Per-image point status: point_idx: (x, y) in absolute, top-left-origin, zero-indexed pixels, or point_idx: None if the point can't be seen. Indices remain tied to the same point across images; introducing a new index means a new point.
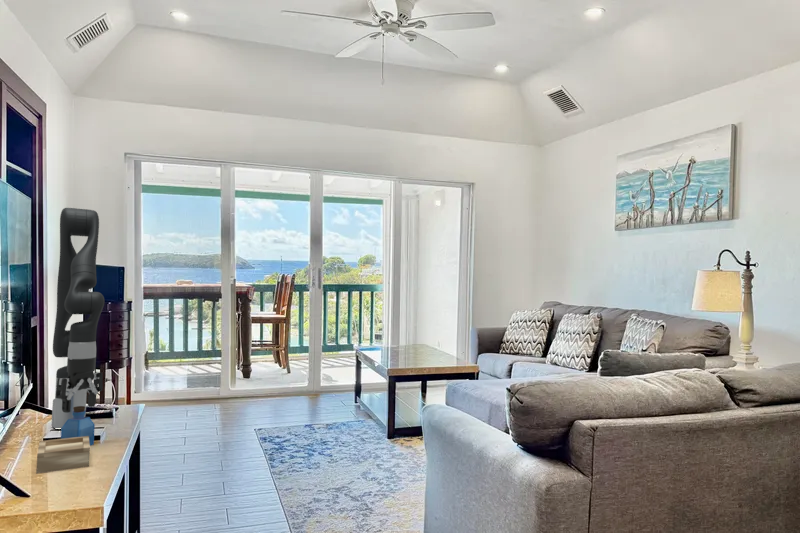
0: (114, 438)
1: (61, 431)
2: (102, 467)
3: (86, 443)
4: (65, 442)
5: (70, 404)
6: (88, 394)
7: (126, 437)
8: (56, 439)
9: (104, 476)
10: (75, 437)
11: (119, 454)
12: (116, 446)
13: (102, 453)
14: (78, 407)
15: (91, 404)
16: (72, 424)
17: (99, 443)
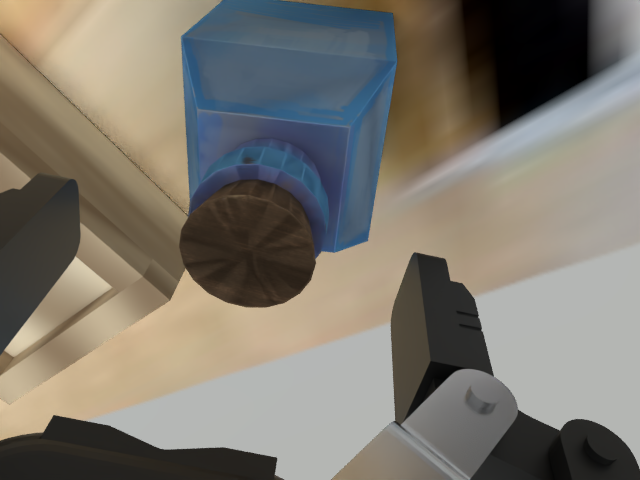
0: (524, 209)
1: (191, 31)
2: (78, 378)
3: (47, 362)
4: None
5: (27, 313)
6: (430, 364)
7: (550, 264)
8: (2, 159)
9: (13, 421)
10: (102, 249)
11: (245, 363)
12: (360, 297)
13: None
14: (236, 251)
15: (398, 313)
16: (191, 164)
17: (399, 182)
